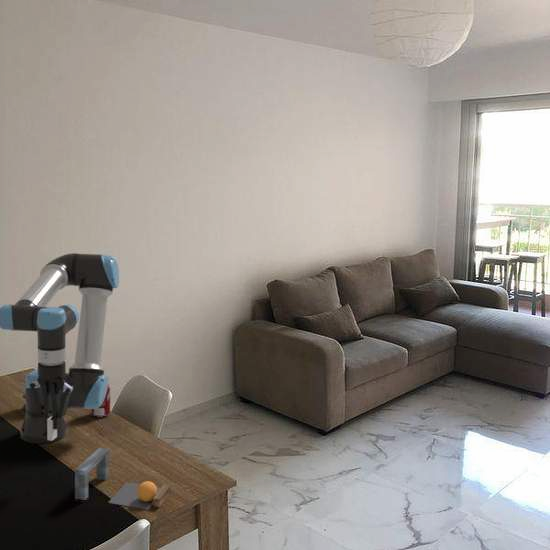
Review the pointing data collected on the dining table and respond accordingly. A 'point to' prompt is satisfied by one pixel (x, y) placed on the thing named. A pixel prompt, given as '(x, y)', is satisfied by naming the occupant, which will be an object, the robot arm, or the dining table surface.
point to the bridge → (82, 472)
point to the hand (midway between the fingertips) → (52, 438)
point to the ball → (147, 491)
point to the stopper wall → (161, 496)
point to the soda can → (103, 406)
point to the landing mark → (131, 497)
